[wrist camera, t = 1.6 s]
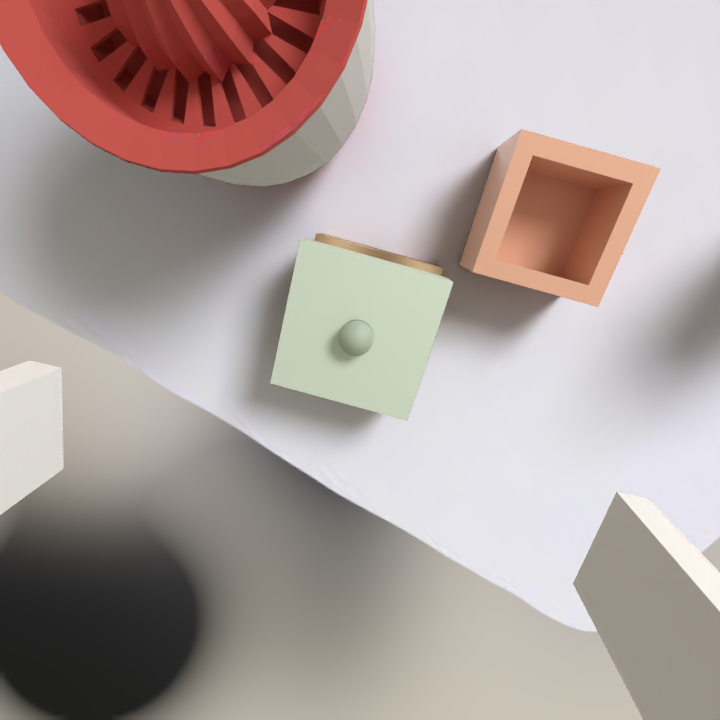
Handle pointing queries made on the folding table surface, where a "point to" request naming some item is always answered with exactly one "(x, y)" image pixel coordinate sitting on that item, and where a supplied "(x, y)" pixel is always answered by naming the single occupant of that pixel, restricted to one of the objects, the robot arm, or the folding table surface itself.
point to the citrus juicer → (200, 79)
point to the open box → (556, 216)
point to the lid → (358, 328)
